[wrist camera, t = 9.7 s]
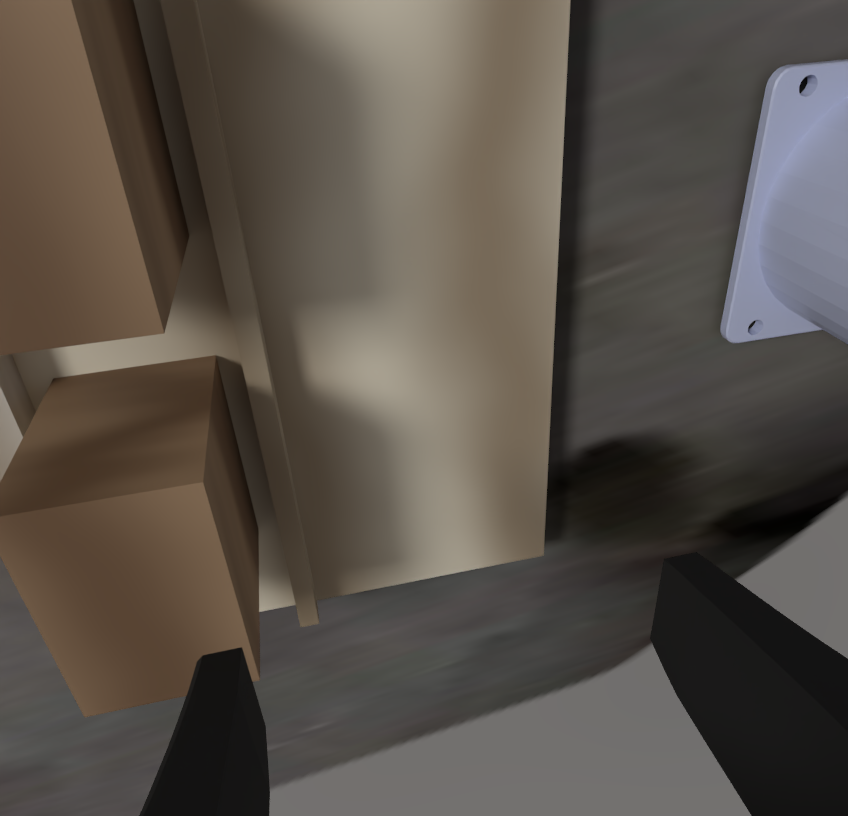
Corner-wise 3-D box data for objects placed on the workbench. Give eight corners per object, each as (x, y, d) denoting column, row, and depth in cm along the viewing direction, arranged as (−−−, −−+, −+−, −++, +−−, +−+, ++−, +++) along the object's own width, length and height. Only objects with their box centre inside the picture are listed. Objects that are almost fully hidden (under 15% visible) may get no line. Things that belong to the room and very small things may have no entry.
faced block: (215, 355, 18) (203, 482, 13) (258, 529, 21) (260, 680, 16) (47, 379, 17) (-27, 521, 13) (117, 554, 20) (78, 718, 16)
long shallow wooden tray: (581, -853, 10) (659, -1054, 8) (532, 533, 25) (556, 579, 23) (-622, -993, 8) (-905, -1312, 6) (98, 616, 23) (84, 676, 21)
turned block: (115, -76, 13) (41, -108, 8) (189, 235, 16) (164, 333, 12) (-124, -64, 12) (-346, -94, 8) (1, 257, 16) (-104, 369, 11)
